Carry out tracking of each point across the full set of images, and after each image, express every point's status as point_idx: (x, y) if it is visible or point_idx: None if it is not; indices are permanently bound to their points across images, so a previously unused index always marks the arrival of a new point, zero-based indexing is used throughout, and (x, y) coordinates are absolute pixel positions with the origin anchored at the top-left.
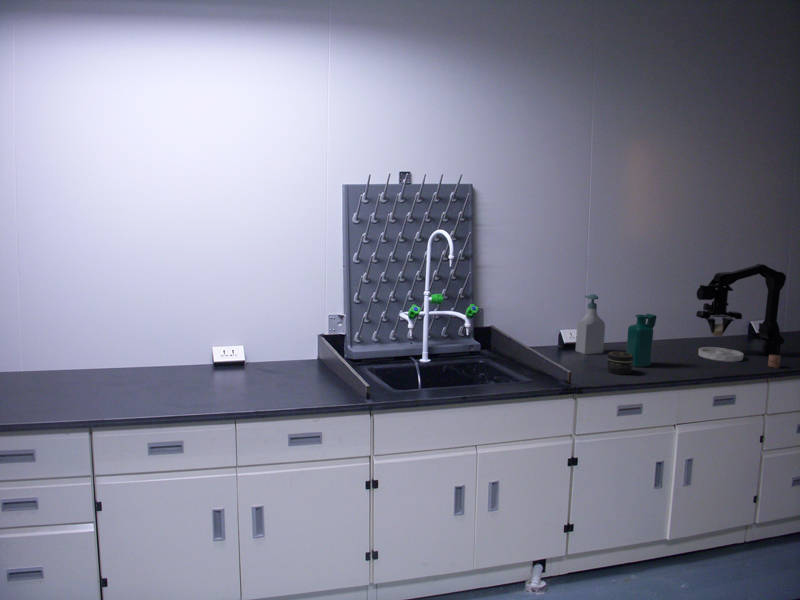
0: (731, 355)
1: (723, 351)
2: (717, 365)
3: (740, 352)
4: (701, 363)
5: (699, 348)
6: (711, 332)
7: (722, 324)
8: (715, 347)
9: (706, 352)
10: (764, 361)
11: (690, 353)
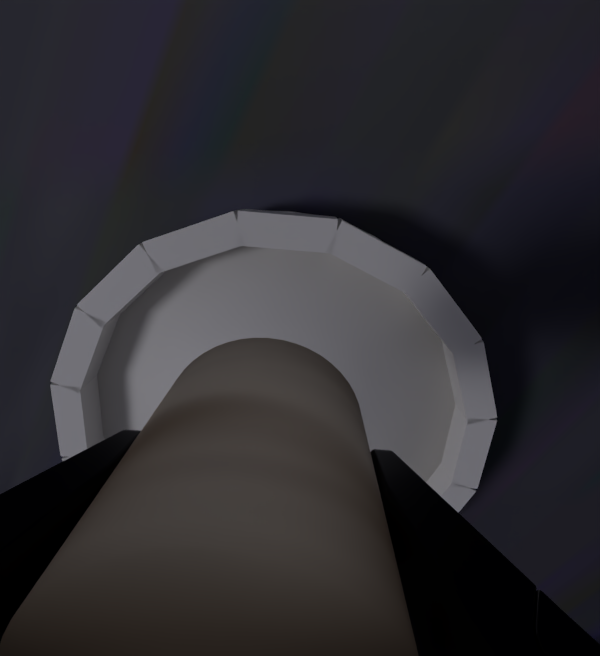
0: None
1: None
2: None
3: (464, 475)
4: None
5: (85, 303)
6: (123, 438)
7: (477, 650)
8: (333, 232)
9: None
10: (572, 535)
11: (31, 266)
